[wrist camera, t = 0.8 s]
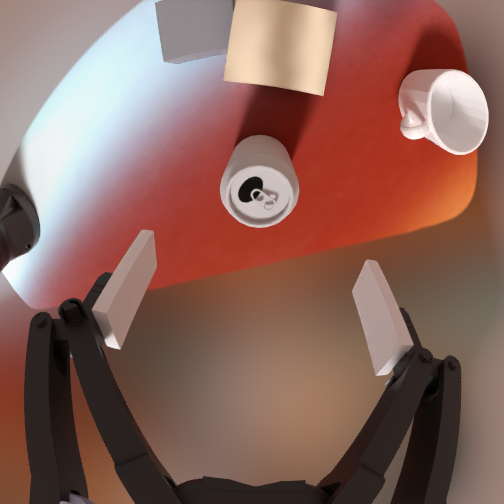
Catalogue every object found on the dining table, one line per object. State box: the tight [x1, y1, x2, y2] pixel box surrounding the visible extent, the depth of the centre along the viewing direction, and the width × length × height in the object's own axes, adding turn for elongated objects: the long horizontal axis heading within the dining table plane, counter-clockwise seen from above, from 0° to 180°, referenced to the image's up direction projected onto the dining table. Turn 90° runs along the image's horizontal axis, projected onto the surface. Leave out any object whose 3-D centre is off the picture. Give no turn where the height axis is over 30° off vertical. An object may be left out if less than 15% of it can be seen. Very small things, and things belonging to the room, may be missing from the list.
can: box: [220, 135, 299, 228], centre depth 29 cm, size 8×8×12 cm
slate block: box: [155, 0, 235, 64], centre depth 21 cm, size 8×8×5 cm
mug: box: [398, 69, 488, 155], centre depth 24 cm, size 13×10×8 cm
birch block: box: [224, 0, 337, 96], centre depth 22 cm, size 10×10×6 cm
